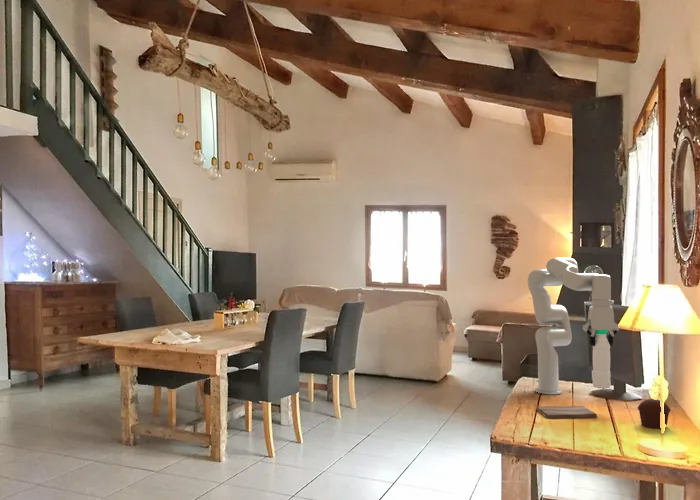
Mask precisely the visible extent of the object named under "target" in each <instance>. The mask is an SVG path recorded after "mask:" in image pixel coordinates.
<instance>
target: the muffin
mask: <svg viewBox="0 0 700 500" xmlns="http://www.w3.org/2000/svg"><path fill="white" fill-rule="evenodd" d="M654 399H655V398H649V399H644V400H643V401H641V402H640V403H639V405H638V406H637V410H638V411H639V418H640V424H641V427H644V428H648V429H653V430H661V429H660V412H661V407H660V399H657V400H654ZM671 411H672V410H671V408H670V406H669V405H668V404H667V403H665V402H664V414H665V424H666V425H667V426H668V420H669V413H670V412H671Z"/></svg>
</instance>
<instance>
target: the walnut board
mask: <svg viewBox="0 0 700 500" xmlns="http://www.w3.org/2000/svg"><path fill="white" fill-rule="evenodd" d="M537 410H538V411H537ZM536 411H537V412H539V411H540V412H541V413H542V414H541V413H540V412H539V413H540V414H541V415H543V414H544V415H545V416H546V417H545V416H544V415H543V416H544V417H545V418H547V419H596V418H597V417H598V416H597V413H596V412H594V411H592V410H590V409H589V408H587V407H585V406H584V405H569V406H568V405H564V406H563V405H561V406H560V405H559V406H557V405H556V406H555V405H553V406H549V405H548V406H547V405H546V406H536Z"/></svg>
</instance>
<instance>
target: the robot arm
mask: <svg viewBox="0 0 700 500" xmlns="http://www.w3.org/2000/svg"><path fill="white" fill-rule="evenodd" d="M546 262H547V263H546V265H545V268H537V269H534V270H531V271H530V272H529V274H528V277H527V287H528V289H529V292H530V295H531V298H532V304H533V305H532V306H533V309H534V314H535V315H534V316H535V320H536V322H537V323H538V324H540V325H555V326H543V327H539V328H538V329H537V330H536V331H535V335H534V337H535V338H534V339H535V343H536V348H537V377H538V378H537V381H538V382H537V383H538V384H537V385H538V386H537V387H535V389H534V391H536V392H535V393H537V392H538V393H537V394H541V393H542V395H560V394H562V393H563V389H561V388H559V386H560V385H559V384H560V383H559V380H560V379H559V355H558V352H557V351H556V349H555V348H554V347H566V346H568V345H570V344H571V342H572V339H573V335H572V334H573V333H572V329H571V323H570V318H569V317H570V316H569V312H568V310H567V308H566V307H565V306H563V305H562V304H552V301H551V295H550V293H549V292H548V291H547V289H546V288H545V287H559V286H560V287H561V286H563V285H564V286H565V287H566V288H569V289H571V290H573V291H578V292H582V291H583V292H584V291H588V292H589V291H590V292H591V306H589V307H588V308H589V309H588V313H587V314H588V315H587V322H586V323H585V324H584V325H582V327H581V328H582V329H583V331H585V333H586V334H587V335H588V336H589V344H590V346H595V338H596V336H595V335H596V333H595V332H596V330H607V334H608V335H606V338H607V340H608V342H609V344H610V347H612V346H613V343H614V337H615V335H616V334H617V332H618V331H619V330H620V329H619V328H618V325H619V324H617V323H616V322H615V312H614V309H613V307H612V305H614V303H615V302H614V300H612V291H611V290H612V279H611V276H610V275H608V274H599V273H596V272H595V273H594V272H593V273H591V272H589V273H587V272H586V273H583V272H582V273H579V267H578V263H577V261H576V260H575V259H574V258H571V257H553V258H551V259H550V258H549V260H548V261H546Z"/></svg>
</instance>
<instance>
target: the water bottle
mask: <svg viewBox="0 0 700 500" xmlns="http://www.w3.org/2000/svg"><path fill="white" fill-rule="evenodd" d="M607 334H608V332H607V330H596V332H595V346H592V345H591V346H592V377H593V378H592V386H593V387H594V388H597V389H602V390H604V389H610V388H611V385H612V383H611V382H612V381H611V346H610V344H609V342H608V340H607V336H608V335H607Z"/></svg>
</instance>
